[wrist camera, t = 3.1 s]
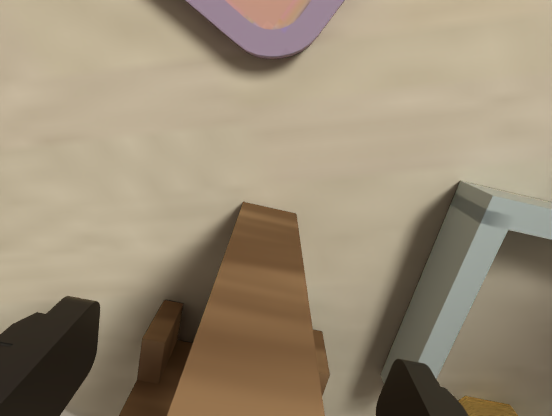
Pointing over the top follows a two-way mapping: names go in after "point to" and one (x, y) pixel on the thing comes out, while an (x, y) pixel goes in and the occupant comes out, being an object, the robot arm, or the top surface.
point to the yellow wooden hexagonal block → (485, 407)
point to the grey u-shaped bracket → (461, 268)
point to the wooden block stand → (240, 335)
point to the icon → (269, 23)
